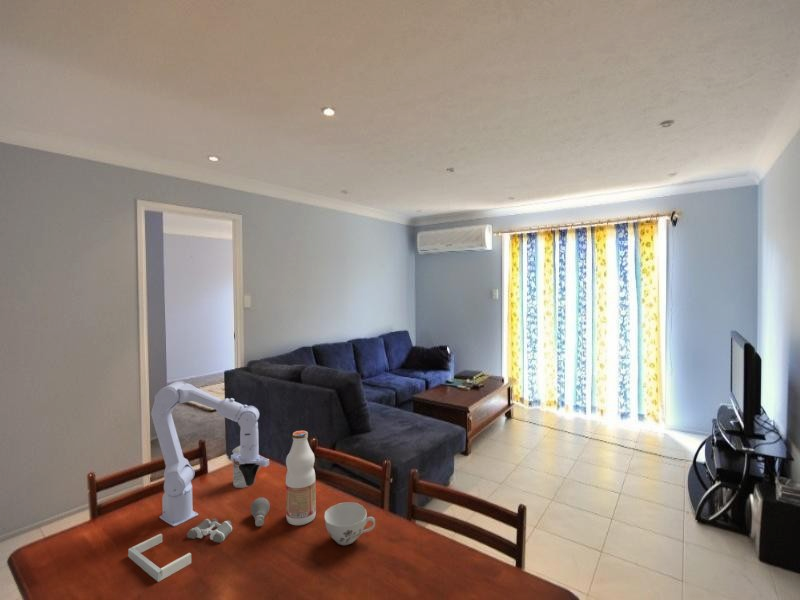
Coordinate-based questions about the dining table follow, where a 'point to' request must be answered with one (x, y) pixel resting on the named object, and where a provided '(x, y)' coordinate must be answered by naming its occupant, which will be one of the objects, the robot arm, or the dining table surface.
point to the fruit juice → (300, 481)
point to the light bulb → (260, 510)
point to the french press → (238, 472)
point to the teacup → (347, 522)
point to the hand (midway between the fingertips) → (250, 484)
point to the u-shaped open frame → (150, 567)
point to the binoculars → (207, 527)
